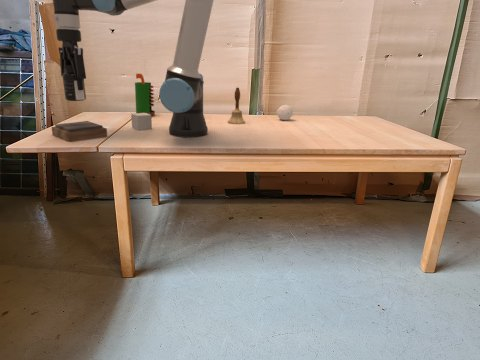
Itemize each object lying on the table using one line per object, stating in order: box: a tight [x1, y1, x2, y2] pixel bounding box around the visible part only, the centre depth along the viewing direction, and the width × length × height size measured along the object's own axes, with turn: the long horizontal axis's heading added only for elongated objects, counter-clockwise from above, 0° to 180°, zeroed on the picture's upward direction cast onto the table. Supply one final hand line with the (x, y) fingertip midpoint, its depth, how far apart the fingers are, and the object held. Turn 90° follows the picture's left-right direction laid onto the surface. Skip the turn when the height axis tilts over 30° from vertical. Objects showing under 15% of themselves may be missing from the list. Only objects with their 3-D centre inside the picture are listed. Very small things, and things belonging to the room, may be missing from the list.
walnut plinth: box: [51, 120, 108, 143], centre depth 135 cm, size 14×14×4 cm
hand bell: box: [227, 87, 246, 125], centre depth 170 cm, size 8×8×16 cm
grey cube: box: [130, 112, 153, 131], centre depth 151 cm, size 6×6×6 cm
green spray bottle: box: [134, 73, 156, 118], centre depth 179 cm, size 10×9×20 cm
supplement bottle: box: [61, 65, 87, 102], centre depth 130 cm, size 7×7×12 cm
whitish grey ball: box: [276, 104, 294, 121], centre depth 182 cm, size 8×8×8 cm
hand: (75, 98), depth 132 cm, fingers closed on supplement bottle, 7 cm apart
